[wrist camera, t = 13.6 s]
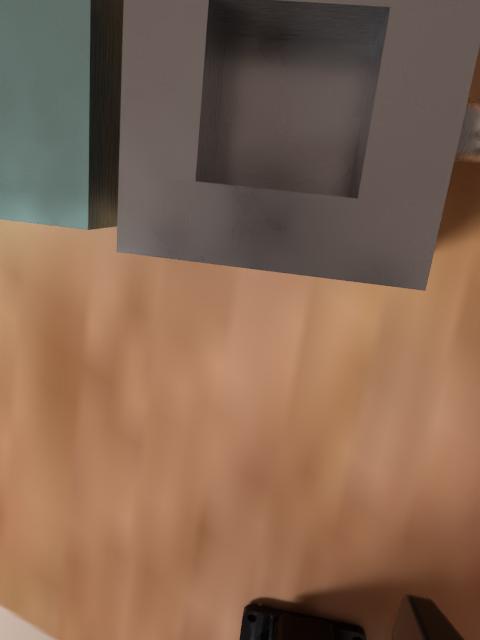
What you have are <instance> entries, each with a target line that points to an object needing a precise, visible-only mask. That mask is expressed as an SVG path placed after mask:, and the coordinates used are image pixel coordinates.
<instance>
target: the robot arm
mask: <svg viewBox="0 0 480 640" xmlns="http://www.w3.org/2000/svg"><path fill="white" fill-rule="evenodd" d="M355 636H358V637H355ZM240 640H366V634H365V631H364V629H363V628H362V627H360V626H357V625H352V624H347V623H342V622H337V621H332V620H327V619H323V618H318V617H313V616H308V615H303V614H298V613H293V612H289V611H284V610H279V609H274V608H269V607H264V606H259V605H255V604H249V605H247V606H246V607H245V608H244V612H243V619H242V626H241V634H240ZM392 640H464V639H463V637H462V636H461V635H460V634H459V633H458V631H457V630H456V629H455V628H454V626H453V625H452V624H451V623H450V621H449V620H448V619H447V618H446V616H445V615H444V614H443V613H442V612H441V610H440V609H439V608H438V607H437V605H436V604H435V603H434V602H433V601H432V600H431V599H430V598H427V597H424V596H419V595H415V594H411V593H408V594H405V595H404V597H403V599H402V601H401V605H400V608H399V611H398V614H397V618H396V621H395V624H394V627H393V632H392Z"/></svg>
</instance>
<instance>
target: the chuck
mask: <svg viewBox="0 0 480 640" xmlns="http://www.w3.org/2000/svg"><path fill="white" fill-rule="evenodd" d="M479 48H480V0H0V219H3V220H11V221H19V222H28V223H36V224H44V225H52V226H61V227H69V228H77V229H86V230H91V229H99V228H107V227H116V226H117V252H122V253H130V254H138V255H146V256H154V257H162V258H170V259H178V260H186V261H194V262H202V263H210V264H218V265H225V266H233V267H241V268H249V269H257V270H265V271H273V272H281V273H289V274H297V275H305V276H313V277H321V278H329V279H337V280H345V281H353V282H361V283H369V284H377V285H385V286H393V287H401V288H409V289H417V290H426V286H427V281H428V277H429V272H430V268H431V263H432V259H433V254H434V250H435V245H436V241H437V236H438V232H439V227H440V223H441V218H442V214H443V209H444V205H445V200H446V196H447V191H448V187H449V182H450V178H451V173H452V169H453V164H454V161H460V162H471V163H480V103H476V102H468V97H469V93H470V88H471V84H472V79H473V75H474V70H475V66H476V61H477V57H478V52H479Z"/></svg>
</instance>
